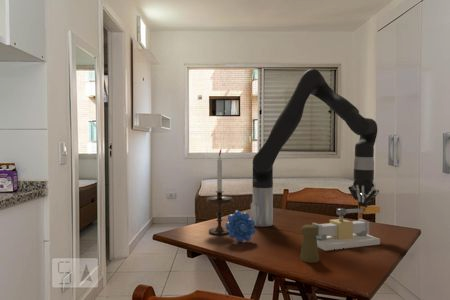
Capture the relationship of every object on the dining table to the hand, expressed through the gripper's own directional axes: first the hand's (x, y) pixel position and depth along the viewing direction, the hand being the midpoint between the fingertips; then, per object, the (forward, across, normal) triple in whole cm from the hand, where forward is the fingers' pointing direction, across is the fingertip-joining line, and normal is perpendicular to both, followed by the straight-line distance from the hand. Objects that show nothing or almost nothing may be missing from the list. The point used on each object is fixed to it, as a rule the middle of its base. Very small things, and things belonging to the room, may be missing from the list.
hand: (362, 211), depth 140 cm
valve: (+10, -1, +14) cm, 17 cm away
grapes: (+11, +18, +46) cm, 51 cm away
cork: (+10, -8, +38) cm, 40 cm away
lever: (0, -2, +6) cm, 7 cm away
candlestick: (+11, +36, +45) cm, 58 cm away
